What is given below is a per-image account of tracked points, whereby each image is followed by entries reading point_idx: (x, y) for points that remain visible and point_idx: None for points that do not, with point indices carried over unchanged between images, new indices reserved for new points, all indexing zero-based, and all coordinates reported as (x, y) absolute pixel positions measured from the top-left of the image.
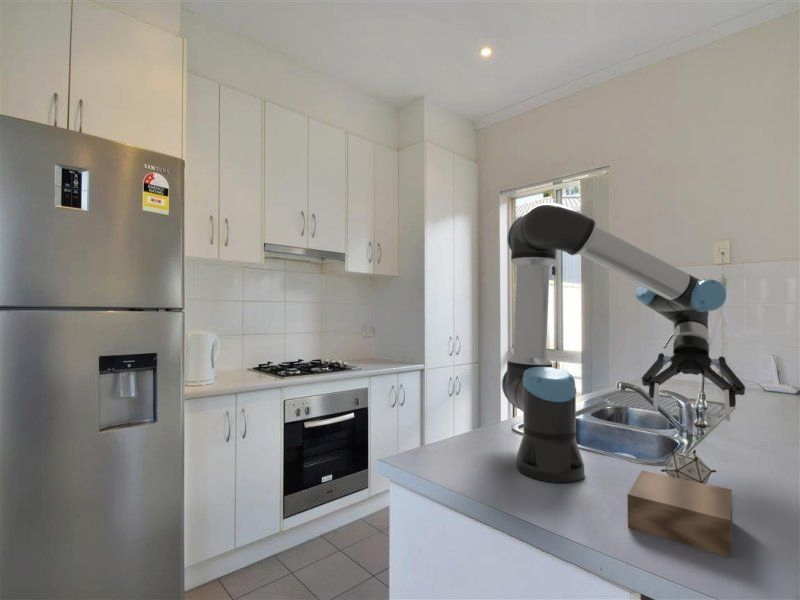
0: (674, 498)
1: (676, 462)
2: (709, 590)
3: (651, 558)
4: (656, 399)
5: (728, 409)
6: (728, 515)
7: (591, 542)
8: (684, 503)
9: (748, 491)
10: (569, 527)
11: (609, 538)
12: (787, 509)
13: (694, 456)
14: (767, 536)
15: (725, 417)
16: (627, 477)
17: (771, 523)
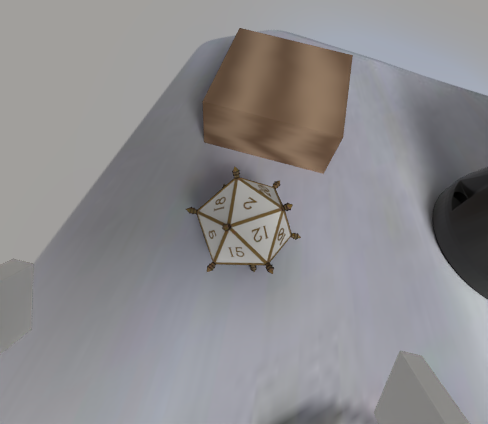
0: (294, 57)
1: (275, 195)
2: (268, 31)
3: None
4: (432, 395)
5: None
6: (238, 35)
7: (364, 62)
8: (284, 49)
9: (106, 288)
10: (391, 79)
11: None
12: (79, 216)
13: (234, 196)
14: (173, 118)
15: (27, 311)
16: (357, 267)
17: (146, 154)
